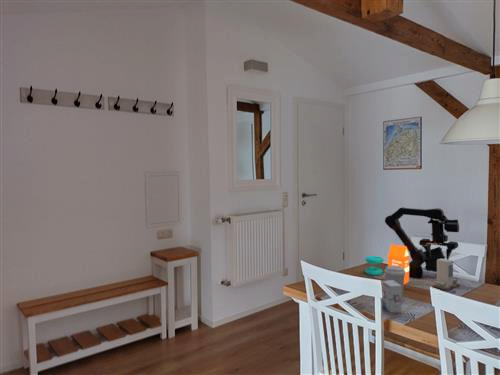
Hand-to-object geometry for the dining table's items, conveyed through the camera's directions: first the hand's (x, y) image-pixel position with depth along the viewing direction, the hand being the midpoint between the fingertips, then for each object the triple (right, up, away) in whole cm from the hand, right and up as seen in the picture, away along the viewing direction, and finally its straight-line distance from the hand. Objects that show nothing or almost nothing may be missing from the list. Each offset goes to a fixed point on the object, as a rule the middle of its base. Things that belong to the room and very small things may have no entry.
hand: (438, 258), depth 207 cm
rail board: (-3, -12, -14) cm, 19 cm away
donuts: (-32, -12, +13) cm, 36 cm away
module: (-4, -11, -13) cm, 18 cm away
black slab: (+7, -11, +19) cm, 23 cm away
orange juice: (-24, -12, -2) cm, 27 cm away
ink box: (-43, -14, -44) cm, 63 cm away
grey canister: (-37, -13, -31) cm, 50 cm away
